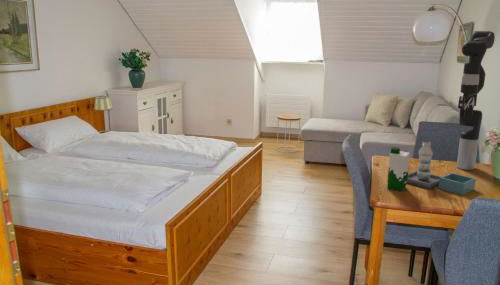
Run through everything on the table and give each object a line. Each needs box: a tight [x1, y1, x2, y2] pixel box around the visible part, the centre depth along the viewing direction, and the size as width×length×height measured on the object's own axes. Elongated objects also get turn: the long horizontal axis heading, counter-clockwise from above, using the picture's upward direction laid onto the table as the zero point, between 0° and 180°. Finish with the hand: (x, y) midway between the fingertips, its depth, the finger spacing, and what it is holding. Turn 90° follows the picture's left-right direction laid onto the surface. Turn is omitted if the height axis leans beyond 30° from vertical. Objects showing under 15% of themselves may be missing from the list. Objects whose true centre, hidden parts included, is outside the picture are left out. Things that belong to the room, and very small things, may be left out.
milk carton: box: [387, 146, 411, 192], centre depth 209 cm, size 9×9×20 cm
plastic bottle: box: [417, 140, 434, 180], centre depth 218 cm, size 6×7×20 cm
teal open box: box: [438, 172, 477, 196], centre depth 210 cm, size 12×12×6 cm
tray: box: [407, 169, 442, 190], centre depth 220 cm, size 16×16×2 cm
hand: (465, 116), depth 213 cm, fingers open, 8 cm apart
